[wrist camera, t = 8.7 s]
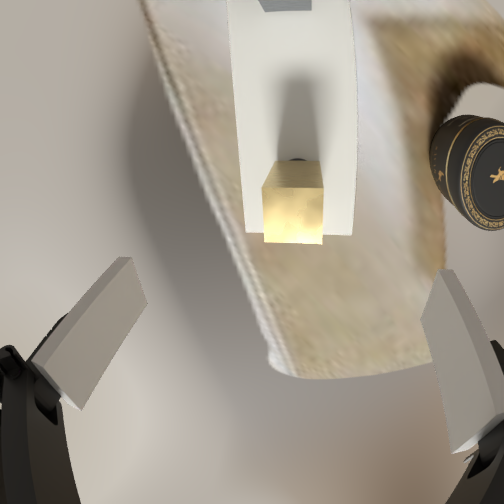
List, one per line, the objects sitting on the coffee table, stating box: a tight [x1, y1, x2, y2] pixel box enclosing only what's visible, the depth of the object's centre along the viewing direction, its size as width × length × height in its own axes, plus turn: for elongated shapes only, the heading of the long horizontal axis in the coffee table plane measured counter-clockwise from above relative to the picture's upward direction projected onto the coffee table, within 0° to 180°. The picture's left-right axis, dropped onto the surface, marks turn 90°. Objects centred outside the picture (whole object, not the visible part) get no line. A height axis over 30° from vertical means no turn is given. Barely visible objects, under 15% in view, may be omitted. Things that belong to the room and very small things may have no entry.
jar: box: [430, 115, 504, 231], centre depth 19 cm, size 10×10×8 cm
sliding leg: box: [261, 161, 324, 244], centre depth 22 cm, size 4×4×8 cm
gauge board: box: [226, 0, 357, 235], centre depth 23 cm, size 28×11×2 cm, turn 4°
